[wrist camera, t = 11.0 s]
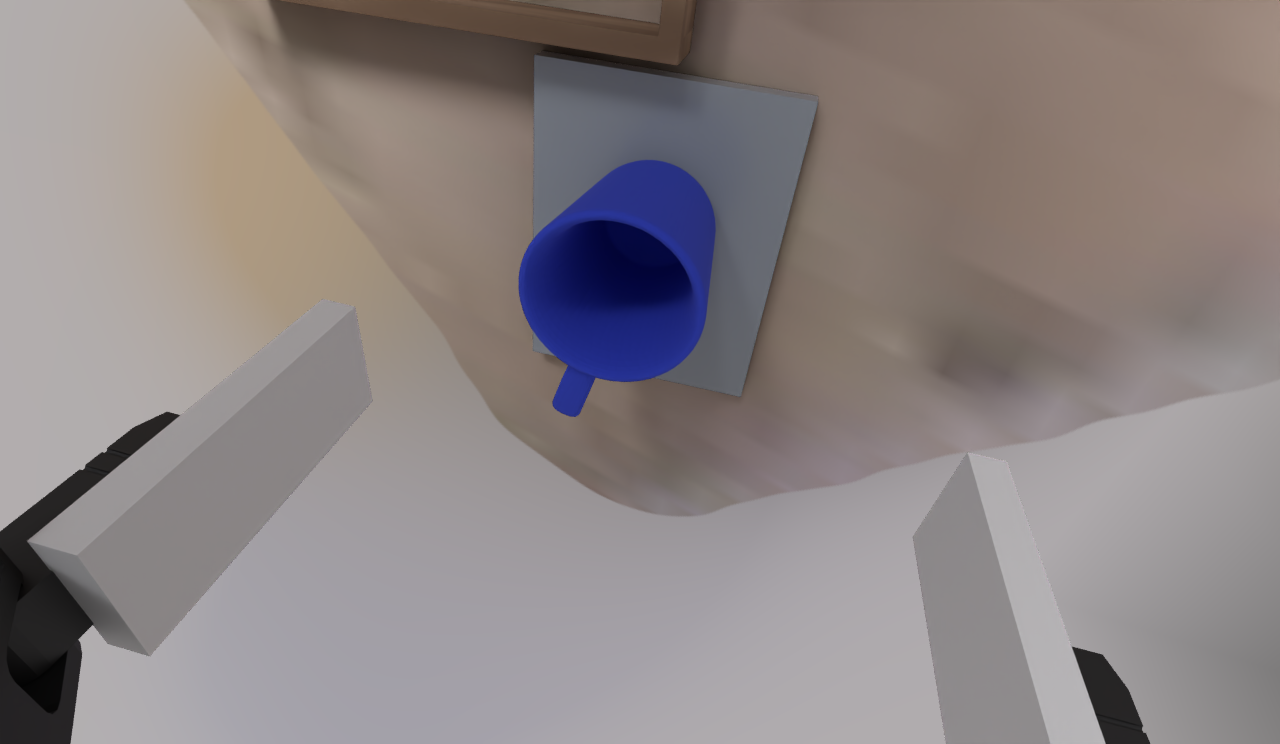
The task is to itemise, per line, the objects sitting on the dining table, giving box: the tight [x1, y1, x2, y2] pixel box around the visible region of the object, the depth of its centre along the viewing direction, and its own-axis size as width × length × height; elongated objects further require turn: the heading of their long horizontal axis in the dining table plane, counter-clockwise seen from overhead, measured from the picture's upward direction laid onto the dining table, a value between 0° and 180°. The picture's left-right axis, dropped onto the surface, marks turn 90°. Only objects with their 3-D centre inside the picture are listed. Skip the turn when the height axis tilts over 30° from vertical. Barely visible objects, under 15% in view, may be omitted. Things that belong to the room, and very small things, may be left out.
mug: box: [519, 160, 716, 417], centre depth 32 cm, size 8×12×10 cm
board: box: [533, 51, 818, 397], centre depth 36 cm, size 18×14×1 cm
